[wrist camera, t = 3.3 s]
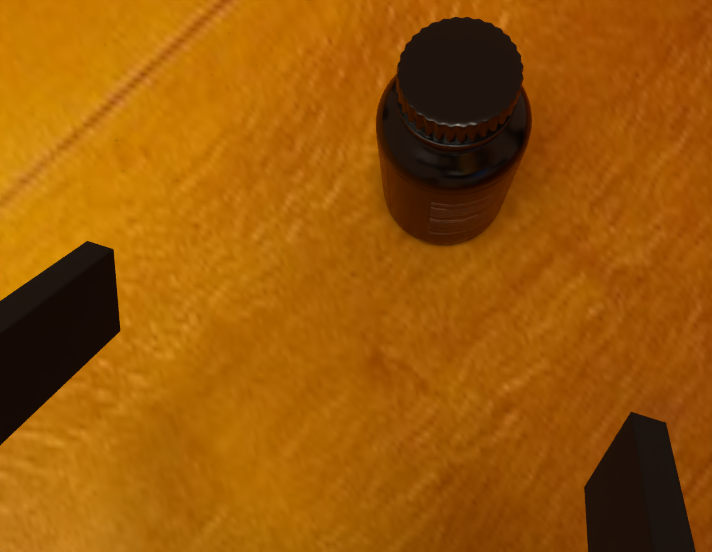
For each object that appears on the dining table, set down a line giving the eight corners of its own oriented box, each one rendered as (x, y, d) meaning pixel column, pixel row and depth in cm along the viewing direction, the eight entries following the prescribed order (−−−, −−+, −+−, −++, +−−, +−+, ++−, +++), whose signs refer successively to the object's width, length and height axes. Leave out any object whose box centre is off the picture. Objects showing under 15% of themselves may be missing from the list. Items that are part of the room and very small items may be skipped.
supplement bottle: (520, 159, 33) (582, 24, 22) (476, 265, 32) (517, 183, 20) (410, 119, 34) (412, -29, 23) (363, 220, 33) (341, 118, 22)
